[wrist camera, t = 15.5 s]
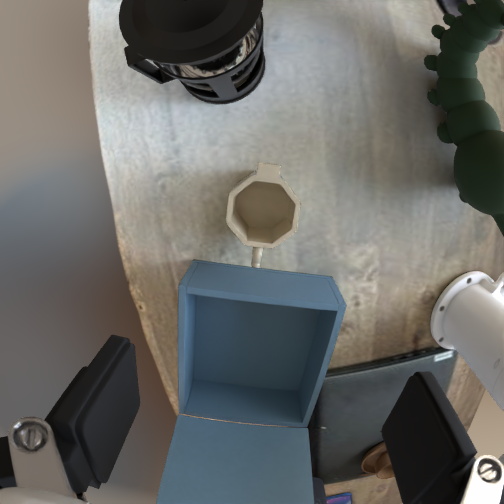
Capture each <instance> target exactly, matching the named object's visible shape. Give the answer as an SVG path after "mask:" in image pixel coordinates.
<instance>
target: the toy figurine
mask: <svg viewBox="0 0 504 504" xmlns="http://www.w3.org/2000/svg"><path fill="white" fill-rule="evenodd" d="M474 2H475V3H476V4H471V5H468V4H467V3H459V5H458V11H459V12H460V13H461V14H462V15H461V16H457V17H456V18H455V16H454V15H452V14H448V13H447V14H445V15H444V16H443V20H444V22H445V24H447V25H449V26H450V28H449V29H447V30H445V28H444V27H442V26H440V25H434V26H433V27H432V31H431V32H432V34H433V35H434V37H436V38H438V39H440V49H441V51H442V52H440V53H439V55H438V57H437V56H435V55H427V56H426V57H425V59H424V65H425V66H426V68H427V69H428V70H431V71H437V74H438V76H439V79H438V81H437V85H436V89H432V90H431V91H429V92H428V100H429V101H430V103H431V104H433V105H435V106H438V105H441V107H442V109H443V110H444V111H445V112H446V113H447V116H446V122H443V123H440V125H439V126H438V128H437V136H438V137H439V139H440V140H441V141H442V142H444V143H453V142H454V144H455V145H456V146H457V150H456V153H455V156H454V176H455V182H456V185H457V188H458V190H459V192H460V194H459V196H460V199H461V200H462V201H463V202H465V203H468V204H469V205H471V206H472V207H473V208H475V209H477V210H479V211H480V212H483V213H485V214H489V215H491V216H492V217H493V218H494V220H495V222H496V223H497V225H498V227H499V229H500V231H501V233H502V235H503V236H504V132H502V131H501V128H500V122H499V118H498V116H497V114H496V112H495V111H494V109H493V108H492V107H491V106H490V105H489V104H488V103H487V102H485V93H484V90H483V87H482V85H481V83H480V81H479V80H478V79H477V68H476V65H475V63H476V62H477V60H478V58H479V54H480V53H479V52H481V51H483V50H484V49H485V48H486V47H487V44H488V41H491V40H494V39H495V38H496V37H497V36H498V35H499V32H500V30H502V29H504V3H503V2H502V1H501V0H474Z"/></svg>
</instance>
